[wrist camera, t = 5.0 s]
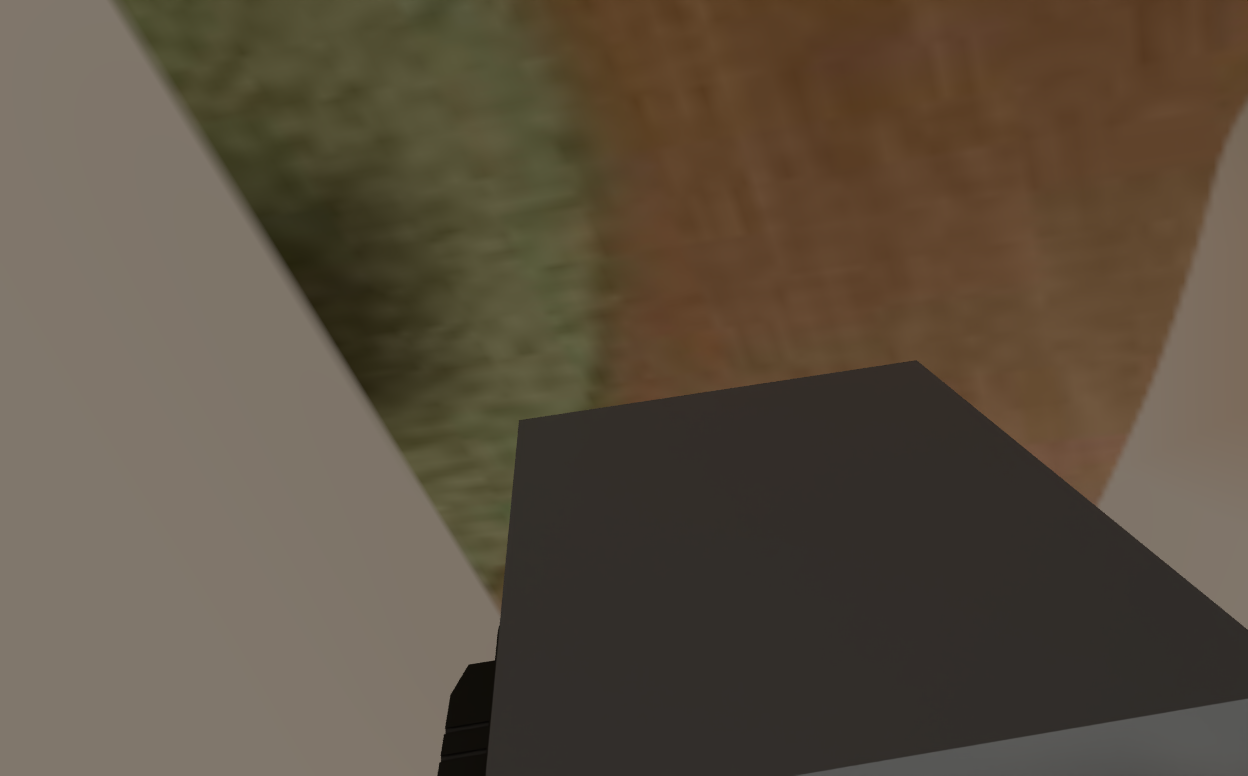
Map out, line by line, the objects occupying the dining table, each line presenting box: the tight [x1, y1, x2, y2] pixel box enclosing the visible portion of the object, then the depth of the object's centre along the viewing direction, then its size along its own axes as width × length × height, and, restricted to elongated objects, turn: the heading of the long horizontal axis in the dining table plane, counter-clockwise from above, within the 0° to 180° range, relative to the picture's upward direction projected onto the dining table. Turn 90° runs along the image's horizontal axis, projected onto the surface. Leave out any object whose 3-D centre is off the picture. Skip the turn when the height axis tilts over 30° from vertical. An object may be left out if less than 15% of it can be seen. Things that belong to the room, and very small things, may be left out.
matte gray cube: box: [486, 360, 1248, 776], centre depth 10 cm, size 7×7×7 cm
